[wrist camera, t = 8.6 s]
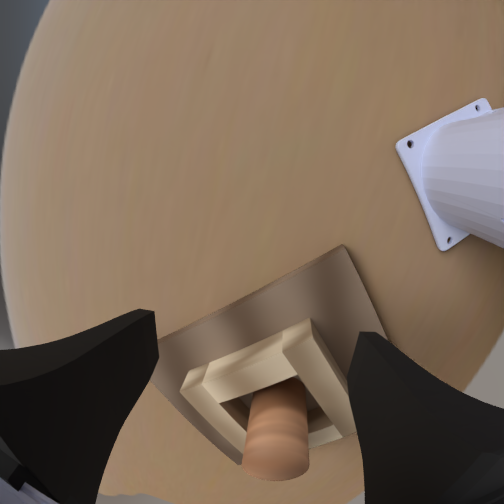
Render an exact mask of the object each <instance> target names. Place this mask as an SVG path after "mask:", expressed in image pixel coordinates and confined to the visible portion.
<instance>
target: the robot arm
mask: <svg viewBox="0 0 504 504" xmlns="http://www.w3.org/2000/svg"><path fill="white" fill-rule="evenodd" d="M475 106H476V107H477V110H476V108H475ZM408 141H410V142H411V144H412V146H411V148H409V147H408V146H407V142H408ZM396 151H397V153H398V155H399V157H400V159H401V161H402V163H403V165H404V167H405V169H406V171H407V173H408V175H409V177H410V180H411V182H412V184H413V186H414V188H415V191H416V193H417V195H418V198H419V200H420V202H421V205H422V207H423V210H424V212H425V215H426V217H427V220H428V223H429V225H430V228H431V231H432V233H433V236H434V239H435V242H436V245H437V247H438V249H440V250H441V251H446V250H448V249H449V248H451V247H452V246H454V245H455V244H457V243H458V242H459V241H461V240H462V239H464V238H465V237H467V236H468V235H469V234H473V235H475V236H477V237H479V238H482V239H484V240H486V241H488V242H491V243H493V244H495V245H497V246H499V247H501V248H503V249H504V108H499V109H494V110H492V109H491V107H490V105H489V103H488V101H487V100H486V99H485V98H481V99H478V100H476V101H474V102H472V103H470V104H468V105H466V106H464V107H462V108H461V109H459V110H457V111H455V112H453V113H451V114H449V115H447V116H445V117H443V118H441V119H439V120H437V121H435V122H433V123H431V124H429V125H427V126H426V127H424V128H422V129H420V130H418V131H416V132H414V133H412V134H410V135H408V136H407V137H405V138H403V139H401V140H399V141H398V142H397V143H396ZM449 237H450V241H449V243H447V239H448V238H449ZM158 359H159V350H158V341H157V333H156V323H155V313H154V311H150V310H144V309H137V310H134V311H131V312H128V313H126V314H124V315H121V316H119V317H117V318H114V319H112V320H110V321H107V322H105V323H103V324H100V325H98V326H96V327H93V328H91V329H88V330H85V331H83V332H80V333H78V334H75V335H72V336H70V337H67V338H63V339H60V340H57V341H53V342H49V343H45V344H41V345H36V346H30V347H24V348H18V349H8V350H0V504H95V502H96V498H97V494H98V490H99V486H100V483H101V480H102V476H103V473H104V470H105V467H106V464H107V462H108V459H109V456H110V453H111V451H112V448H113V446H114V443H115V441H116V439H117V436H118V434H119V432H120V429H121V428H122V426H123V424H124V422H125V420H126V418H127V417H128V415H129V413H130V412H131V410H132V408H133V407H134V405H135V404H136V402H137V400H138V399H139V397H140V395H141V394H142V392H143V390H144V389H145V387H146V385H147V384H148V382H149V380H150V379H151V376H152V374H153V372H154V369H155V367H156V364H157V362H158ZM347 385H348V395H349V402H350V406H351V410H352V414H353V418H354V422H355V426H356V430H357V435H358V439H359V443H360V447H361V453H362V459H363V470H364V486H365V504H504V409H502V408H499V407H496V406H493V405H490V404H488V403H484V402H482V401H480V400H478V399H475V398H473V397H471V396H469V395H466V394H464V393H462V392H460V391H458V390H457V389H455V388H453V387H451V386H450V385H448V384H446V383H444V382H443V381H441V380H439V379H438V378H436V377H435V376H433V375H432V374H431V373H429V372H428V371H426V370H425V369H423V368H422V367H421V366H419V365H418V364H417V363H415V362H414V361H413V360H411V359H410V358H409V357H408V356H406V355H405V354H404V353H403V352H401V351H400V350H399V349H398V348H396V347H395V346H394V345H393V344H391V343H390V342H389V341H388V340H386V339H385V338H384V337H383V336H381V335H380V334H378V333H377V332H364V331H359V335H358V339H357V343H356V346H355V350H354V354H353V357H352V361H351V364H350V367H349V371H348V374H347Z"/></svg>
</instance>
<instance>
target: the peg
mask: <svg viewBox="0 0 504 504" xmlns="http://www.w3.org/2000/svg"><path fill="white" fill-rule="evenodd" d="M242 468H243V469H244V471H245V472H246V473H248V474H249V475H251V476H253V477H256V478H259V479H262V480H269V481H284V480H290V479H293V478H296V477H299V476H301V475H303V474H304V473H305V472H306V471H307V470H308V468H309V445H308V424H307V407H306V392H305V387H304V385H303V384H302V382H301V381H299V380H298V379H296V378H295V377H290V378H288V379H285V380H283V381H280V382H278V383H275V384H273V385H270V386H267V387H265V388H262V389H259V390H257V391H254V392H253V395H252V402H251V408H250V415H249V421H248V428H247V434H246V440H245V447H244V453H243V459H242Z"/></svg>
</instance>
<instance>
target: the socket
mask: <svg viewBox="0 0 504 504" xmlns="http://www.w3.org/2000/svg"><path fill="white" fill-rule="evenodd" d="M359 331H364V332H377V333H378V334H380V335H381V336H383V337H384V338H385V339H386V340H388V339H387V337H386V335H385V332H384V330H383V328H382V325H381V323H380V321H379V318H378V316H377V314H376V312H375V309H374V307H373V305H372V303H371V301H370V298H369V296H368V294H367V292H366V290H365V288H364V286H363V283H362V281H361V279H360V277H359V275H358V273H357V271H356V269H355V267H354V265H353V263H352V261H351V259H350V257H349V255H348V253H347V251H346V249H345V247H344V246H343V245H340V246H338V247H336V248H334V249H333V250H331V251H329V252H327V253H325V254H324V255H322V256H320V257H318V258H316V259H315V260H313V261H311V262H309V263H307V264H305V265H304V266H302V267H300V268H298V269H296V270H294V271H293V272H291V273H289V274H287V275H285V276H283V277H281V278H279V279H278V280H276V281H274V282H272V283H270V284H268V285H266V286H264V287H262V288H261V289H259V290H257V291H255V292H253V293H251V294H249V295H247V296H245V297H243V298H241V299H239V300H237V301H235V302H233V303H232V304H230V305H228V306H226V307H224V308H222V309H220V310H218V311H216V312H214V313H212V314H210V315H208V316H206V317H204V318H202V319H200V320H198V321H196V322H194V323H192V324H190V325H188V326H186V327H184V328H181V329H179V330H177V331H175V332H173V333H171V334H169V335H167V336H165V337H163V338H161V339H159V340H157V341H158V350H159V359H158V362H157V364H156V367H155V369H154V372H153V374H152V376H151V379H150V381H151V382H152V383H153V384H154V385H155V386H156V388H157V389H158V390H159V391H160V392H161V393H162V394H163V395H164V396H165V397H166V398H167V399H168V401H169V402H170V403H171V404H172V405H173V406H174V407H175V408H176V409H177V410H178V411H179V412H180V413H181V414H182V415H183V416H184V417H185V418H186V419H187V420H188V421H189V422H190V423H191V424H192V425H193V426H194V427H195V428H196V429H197V430H199V431H200V432H201V433H202V434H203V435H204V436H205V437H206V438H207V439H208V440H209V441H210V442H212V443H213V444H214V445H215V446H216V447H217V448H218V449H219V450H221V451H222V452H223V453H224V454H225V455H226V456H228V457H229V458H230V459H231V460H232V461H234V462H235V463H236V464H237V465H241V464H242V459H243V453H244V447H245V440H246V434H247V428H248V421H249V415H250V408H251V402H252V395H253V392H254V391H257V390H259V389H262V388H265V387H267V386H270V385H273V384H275V383H278V382H280V381H283V380H285V379H288V378H290V377H295V378H296V379H298V380H299V381H301V382H302V384H303V385H304V387H305V392H306V407H307V424H308V445H309V449H311V448H314V447H317V446H320V445H323V444H326V443H329V442H331V441H334V440H337V439H340V438H342V437H345V436H348V435H350V434H353V433H355V432H357V430H356V426H355V422H354V418H353V414H352V410H351V406H350V402H349V395H348V385H347V374H348V371H349V367H350V364H351V361H352V357H353V354H354V350H355V346H356V343H357V339H358V335H359Z"/></svg>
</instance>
